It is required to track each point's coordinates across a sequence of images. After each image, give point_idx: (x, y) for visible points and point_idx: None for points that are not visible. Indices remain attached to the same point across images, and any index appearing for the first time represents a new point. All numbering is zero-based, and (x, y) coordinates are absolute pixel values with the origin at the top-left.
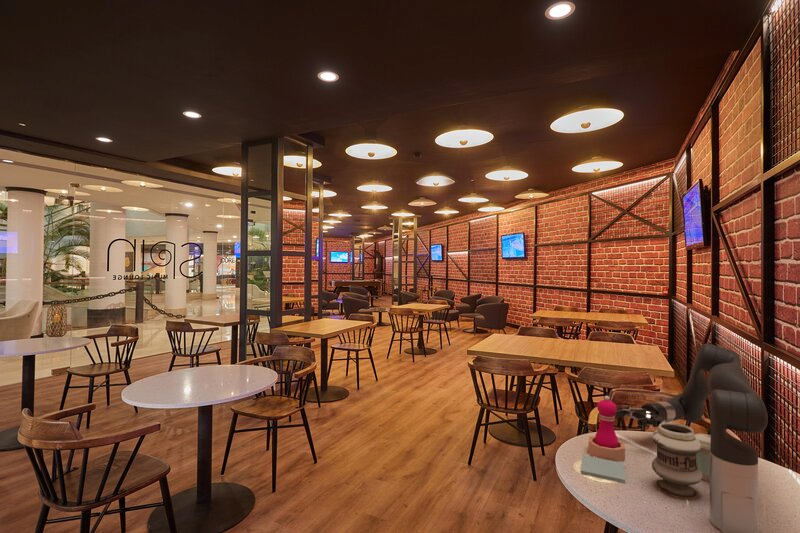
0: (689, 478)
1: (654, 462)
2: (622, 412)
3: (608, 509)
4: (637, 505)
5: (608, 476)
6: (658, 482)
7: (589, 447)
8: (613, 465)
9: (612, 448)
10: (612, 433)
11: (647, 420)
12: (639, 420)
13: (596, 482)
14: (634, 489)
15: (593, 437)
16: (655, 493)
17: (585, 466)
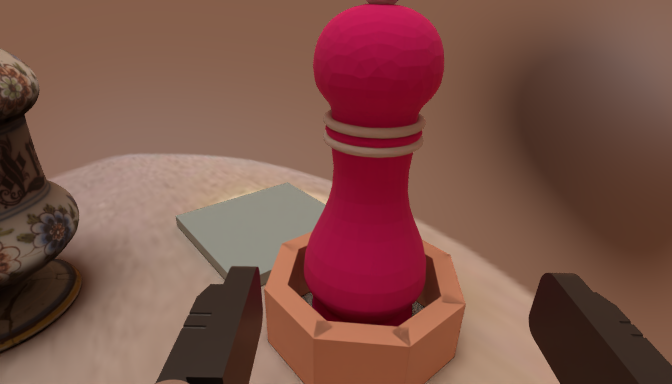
0: None
1: (59, 186)
2: (592, 355)
3: (164, 160)
4: (115, 190)
5: (221, 202)
6: (68, 274)
7: None
8: (251, 247)
9: (297, 248)
10: (324, 210)
11: (165, 366)
12: (234, 266)
13: (236, 190)
14: (142, 222)
15: (439, 264)
16: (77, 244)
17: (298, 197)
